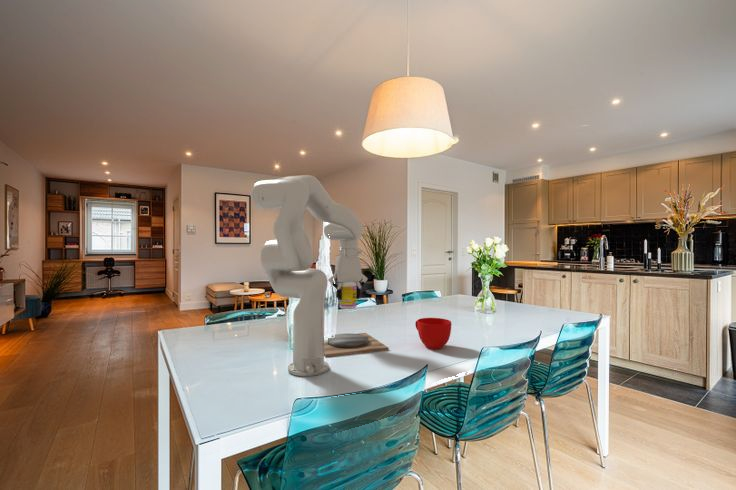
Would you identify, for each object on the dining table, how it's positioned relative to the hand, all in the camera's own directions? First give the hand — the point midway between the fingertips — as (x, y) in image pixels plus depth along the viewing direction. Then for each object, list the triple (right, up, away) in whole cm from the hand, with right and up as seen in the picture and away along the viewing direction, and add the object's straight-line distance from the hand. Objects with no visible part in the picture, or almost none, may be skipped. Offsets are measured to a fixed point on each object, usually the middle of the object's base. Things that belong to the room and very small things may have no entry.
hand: (348, 298), depth 137 cm
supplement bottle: (0, -4, 0) cm, 4 cm away
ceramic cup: (+32, -18, -1) cm, 37 cm away
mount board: (0, -18, 0) cm, 18 cm away
